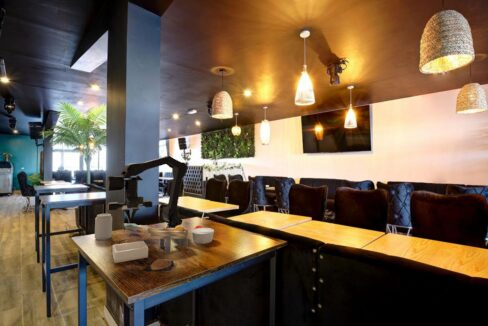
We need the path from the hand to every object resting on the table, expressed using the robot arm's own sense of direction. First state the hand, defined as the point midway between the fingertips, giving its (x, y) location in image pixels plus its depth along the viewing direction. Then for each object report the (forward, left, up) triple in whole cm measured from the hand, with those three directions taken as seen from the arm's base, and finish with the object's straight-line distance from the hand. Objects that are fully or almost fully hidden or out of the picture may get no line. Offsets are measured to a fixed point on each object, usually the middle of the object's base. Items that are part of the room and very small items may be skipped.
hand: (130, 223), depth 114 cm
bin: (+2, +16, -10) cm, 19 cm away
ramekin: (-32, +12, -10) cm, 36 cm away
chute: (-9, +10, -6) cm, 14 cm away
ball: (-18, +16, -2) cm, 24 cm away
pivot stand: (-12, +16, -10) cm, 22 cm away
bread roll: (-6, +34, -11) cm, 36 cm away
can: (+10, -16, -10) cm, 21 cm away
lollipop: (-37, -2, -10) cm, 38 cm away
